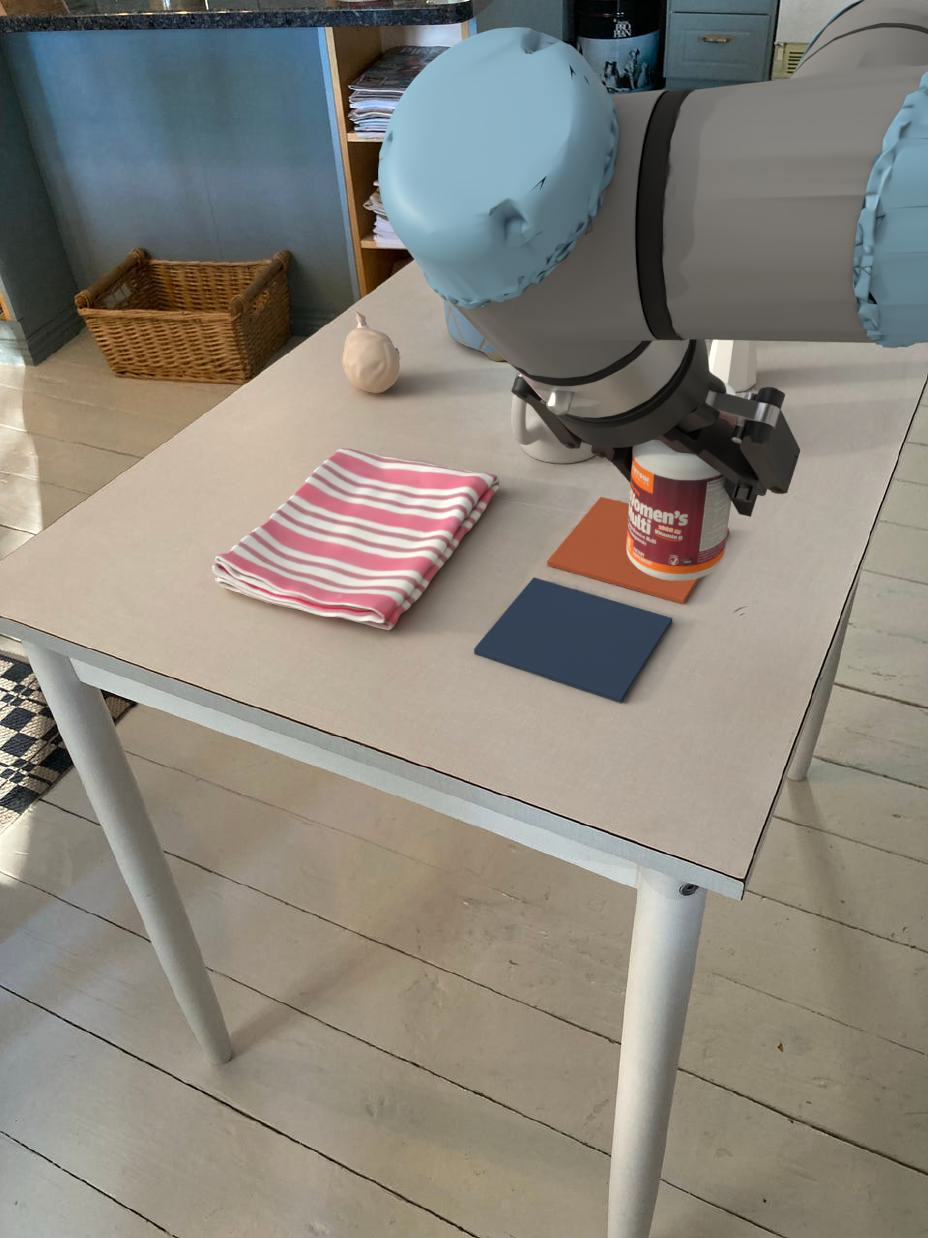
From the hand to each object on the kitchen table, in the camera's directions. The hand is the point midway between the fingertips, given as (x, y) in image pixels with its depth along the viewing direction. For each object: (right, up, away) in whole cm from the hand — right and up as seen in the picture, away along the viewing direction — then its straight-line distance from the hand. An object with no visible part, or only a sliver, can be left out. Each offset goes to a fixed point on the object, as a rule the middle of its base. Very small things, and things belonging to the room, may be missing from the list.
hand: (698, 482), depth 64 cm
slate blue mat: (-7, -10, +12) cm, 17 cm away
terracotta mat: (0, -3, +21) cm, 21 cm away
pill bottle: (-2, -5, 0) cm, 5 cm away
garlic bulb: (-25, +17, +47) cm, 56 cm away
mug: (-6, +8, +34) cm, 36 cm away
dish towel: (-24, -2, +24) cm, 34 cm away
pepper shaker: (+14, +17, +44) cm, 49 cm away
